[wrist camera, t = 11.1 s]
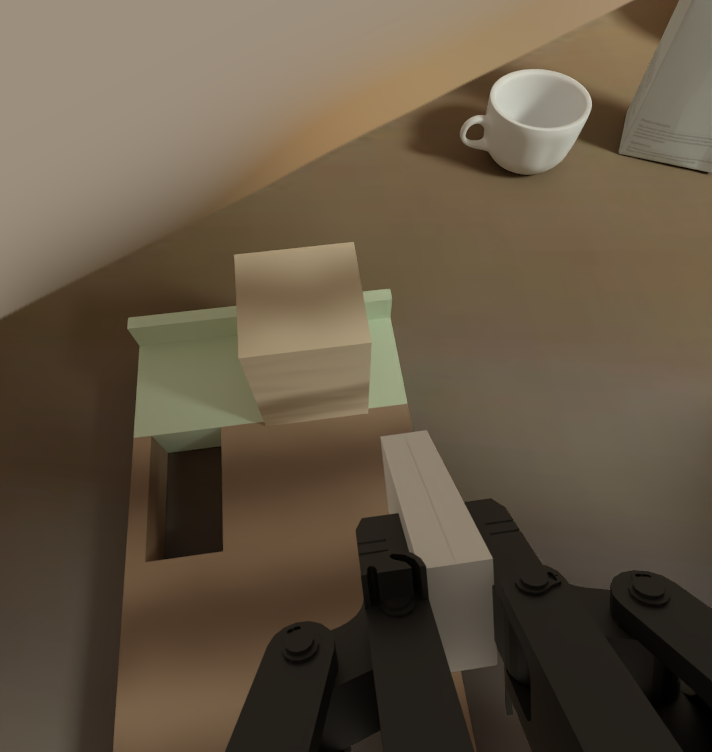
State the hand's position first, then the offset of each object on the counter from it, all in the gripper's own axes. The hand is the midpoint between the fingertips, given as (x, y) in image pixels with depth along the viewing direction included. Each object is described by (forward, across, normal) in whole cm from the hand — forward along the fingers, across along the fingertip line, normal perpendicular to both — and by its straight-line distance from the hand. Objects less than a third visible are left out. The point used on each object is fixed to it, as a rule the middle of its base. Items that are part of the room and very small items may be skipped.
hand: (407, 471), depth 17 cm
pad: (+18, -6, -2) cm, 19 cm away
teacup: (+33, +15, +11) cm, 38 cm away
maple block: (+16, -3, -1) cm, 16 cm away
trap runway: (+8, -6, -12) cm, 16 cm away
